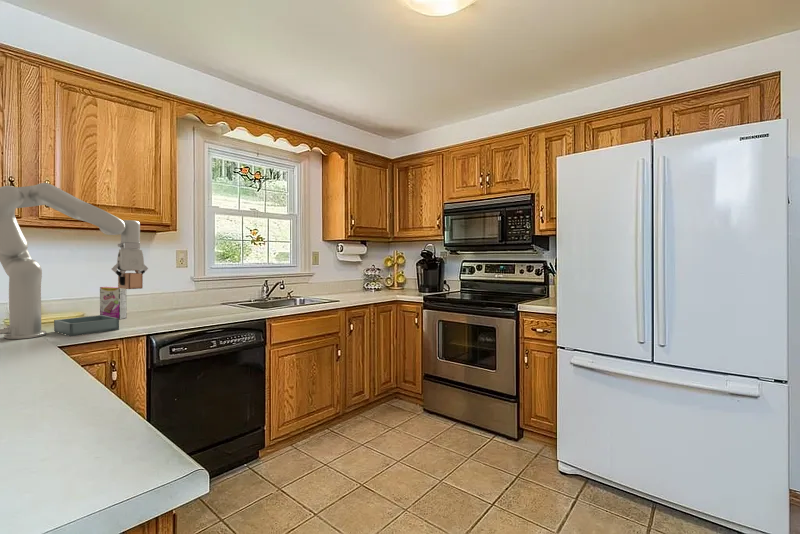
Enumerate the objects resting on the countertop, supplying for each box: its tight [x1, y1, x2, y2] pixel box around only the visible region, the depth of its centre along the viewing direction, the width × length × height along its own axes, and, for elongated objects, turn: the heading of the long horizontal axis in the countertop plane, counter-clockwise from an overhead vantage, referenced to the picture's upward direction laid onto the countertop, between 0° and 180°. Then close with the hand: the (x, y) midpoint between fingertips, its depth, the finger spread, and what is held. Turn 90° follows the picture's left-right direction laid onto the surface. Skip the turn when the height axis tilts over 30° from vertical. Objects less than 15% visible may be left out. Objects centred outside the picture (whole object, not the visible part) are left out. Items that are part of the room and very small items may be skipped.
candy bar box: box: [99, 285, 128, 321], centre depth 209 cm, size 11×5×16 cm, turn 84°
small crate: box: [117, 272, 144, 290], centre depth 193 cm, size 6×10×7 cm, turn 58°
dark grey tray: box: [53, 314, 120, 337], centre depth 178 cm, size 18×16×5 cm
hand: (130, 284), depth 193 cm, fingers closed on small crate, 6 cm apart
